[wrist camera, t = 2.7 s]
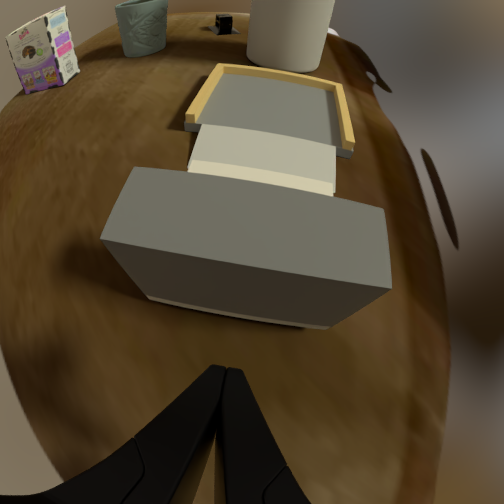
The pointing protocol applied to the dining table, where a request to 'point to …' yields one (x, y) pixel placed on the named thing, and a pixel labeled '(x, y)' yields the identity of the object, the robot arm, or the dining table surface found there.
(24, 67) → the candy box
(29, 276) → the dining table surface
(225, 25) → the black block on plate
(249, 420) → the robot arm
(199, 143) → the loading dock
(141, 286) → the gray and cream l-shape
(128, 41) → the green embossed cup
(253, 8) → the cylinder vase
